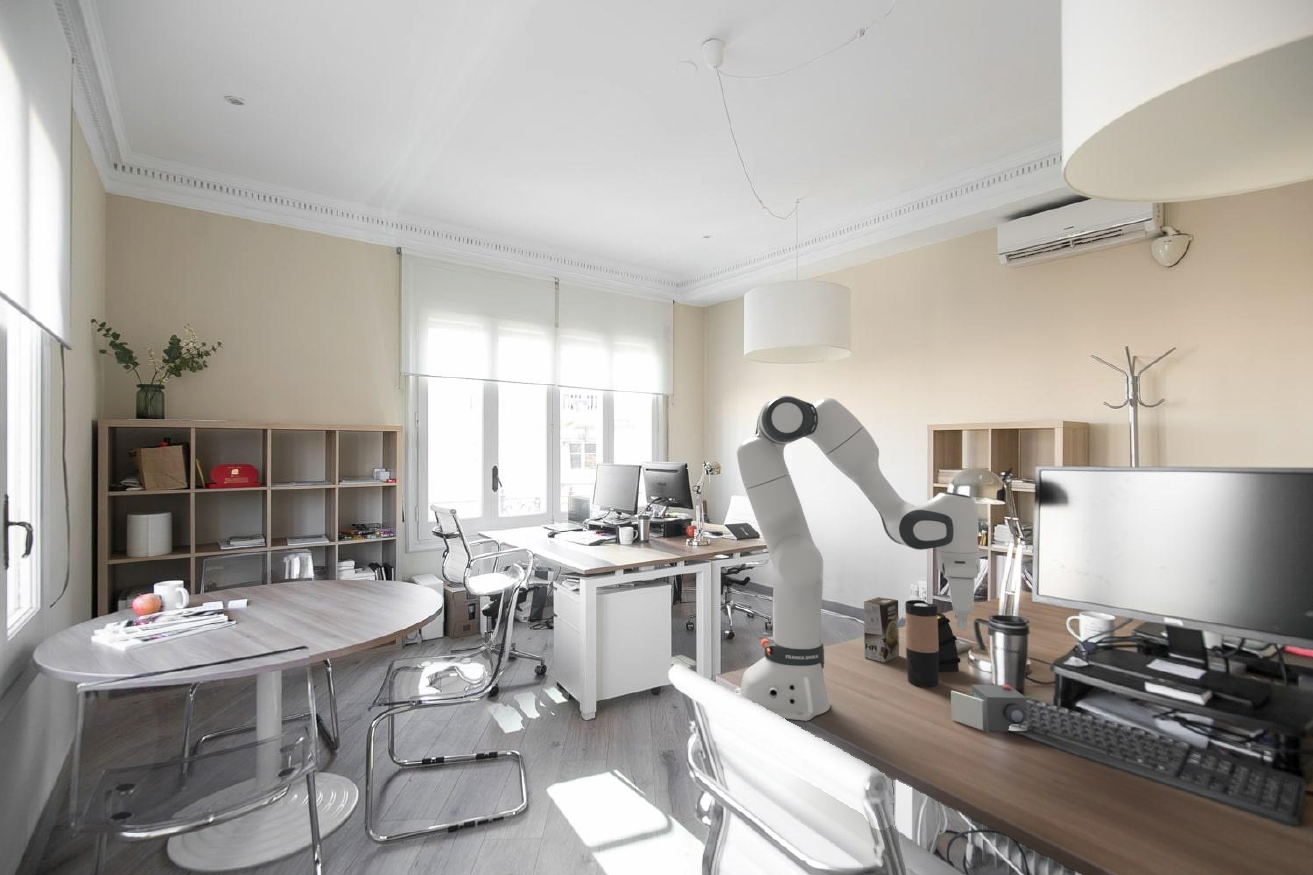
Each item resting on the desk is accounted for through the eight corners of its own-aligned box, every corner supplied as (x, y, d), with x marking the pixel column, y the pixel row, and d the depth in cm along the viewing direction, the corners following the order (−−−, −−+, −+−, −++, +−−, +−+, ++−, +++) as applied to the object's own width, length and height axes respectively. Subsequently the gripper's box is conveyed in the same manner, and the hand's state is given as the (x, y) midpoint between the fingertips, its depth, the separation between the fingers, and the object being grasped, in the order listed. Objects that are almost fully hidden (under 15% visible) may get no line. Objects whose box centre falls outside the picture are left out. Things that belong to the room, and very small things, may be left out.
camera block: (992, 735, 124) (991, 697, 124) (972, 716, 133) (971, 681, 133) (1033, 736, 123) (1032, 698, 124) (1009, 717, 132) (1009, 682, 133)
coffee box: (885, 663, 168) (884, 604, 169) (863, 657, 173) (862, 601, 174) (900, 656, 174) (899, 599, 175) (879, 650, 179) (878, 596, 180)
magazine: (971, 665, 161) (947, 614, 161) (929, 688, 160) (904, 637, 160) (963, 660, 165) (939, 611, 165) (921, 683, 164) (898, 633, 164)
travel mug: (910, 687, 150) (908, 606, 151) (903, 676, 158) (902, 599, 159) (943, 689, 149) (941, 607, 150) (934, 678, 156) (933, 600, 157)
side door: (986, 731, 125) (985, 701, 125) (951, 719, 131) (950, 691, 131) (987, 730, 126) (987, 700, 126) (953, 718, 131) (952, 690, 132)
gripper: (941, 555, 149) (943, 612, 148) (945, 570, 130) (947, 635, 129) (970, 557, 146) (972, 614, 146) (978, 571, 127) (980, 637, 127)
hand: (960, 624), depth 137 cm, fingers open, 8 cm apart
